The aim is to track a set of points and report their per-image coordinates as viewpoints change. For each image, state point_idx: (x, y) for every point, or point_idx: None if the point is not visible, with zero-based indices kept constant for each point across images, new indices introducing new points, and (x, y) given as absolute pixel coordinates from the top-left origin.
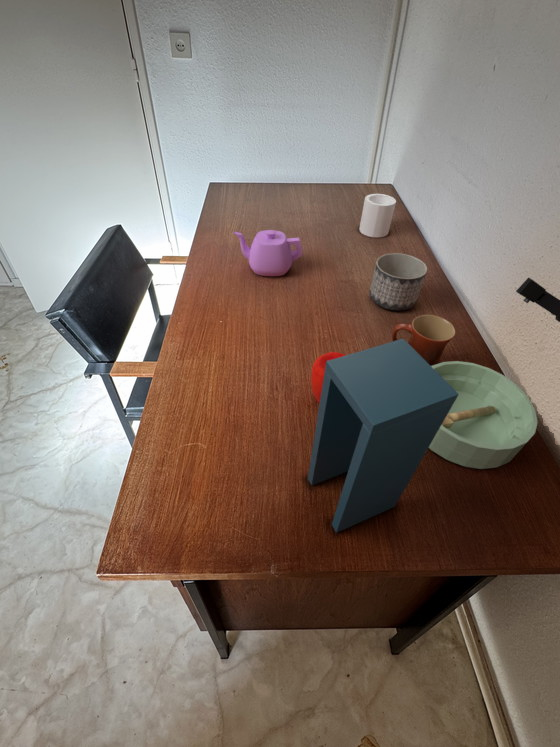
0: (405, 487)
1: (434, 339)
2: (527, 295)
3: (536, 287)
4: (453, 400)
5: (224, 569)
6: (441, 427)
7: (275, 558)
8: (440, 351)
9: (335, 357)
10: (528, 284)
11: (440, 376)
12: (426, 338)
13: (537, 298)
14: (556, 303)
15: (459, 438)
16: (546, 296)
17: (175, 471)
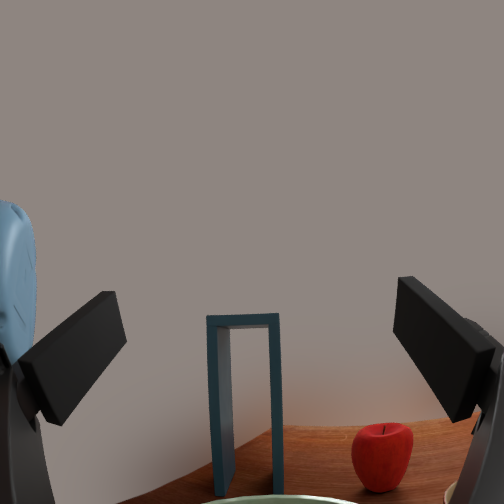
0: (212, 459)
1: None
2: (416, 353)
3: (426, 318)
4: (207, 322)
5: (247, 442)
6: (250, 496)
7: (236, 452)
8: None
9: (397, 429)
10: (397, 296)
11: (227, 315)
12: (451, 485)
13: (458, 400)
14: (471, 479)
15: (219, 500)
16: (489, 410)
17: (325, 434)
